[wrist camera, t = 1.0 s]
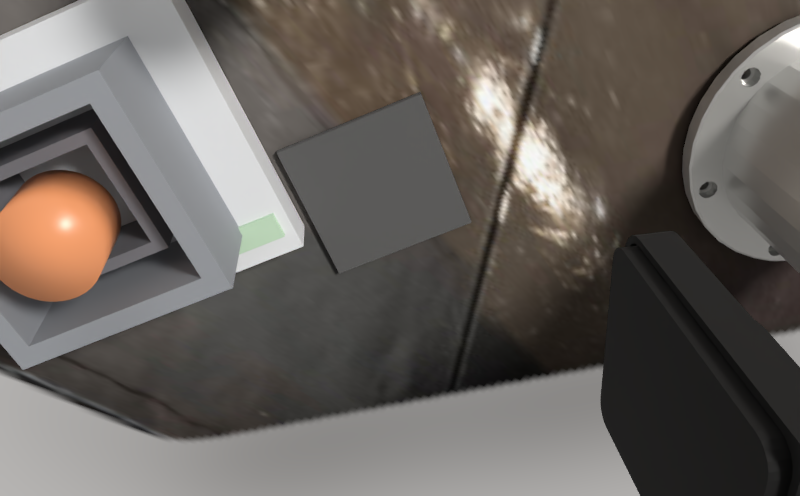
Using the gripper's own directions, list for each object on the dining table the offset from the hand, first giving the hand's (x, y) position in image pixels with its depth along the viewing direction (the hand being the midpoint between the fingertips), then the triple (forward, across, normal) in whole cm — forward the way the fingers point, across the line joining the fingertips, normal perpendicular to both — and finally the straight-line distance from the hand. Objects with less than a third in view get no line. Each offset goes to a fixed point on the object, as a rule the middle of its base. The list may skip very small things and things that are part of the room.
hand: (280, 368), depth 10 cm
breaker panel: (+25, +9, +7) cm, 27 cm away
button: (+20, +10, +7) cm, 23 cm away
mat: (+24, -3, +9) cm, 26 cm away
